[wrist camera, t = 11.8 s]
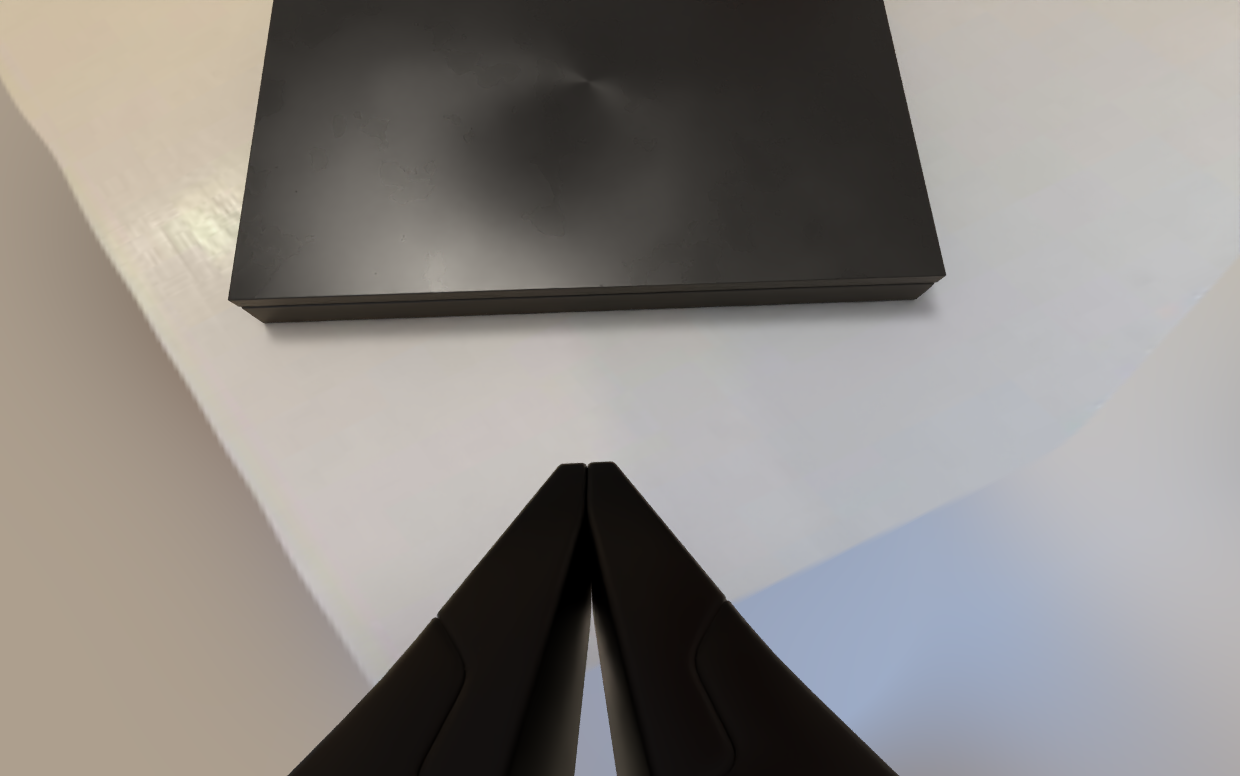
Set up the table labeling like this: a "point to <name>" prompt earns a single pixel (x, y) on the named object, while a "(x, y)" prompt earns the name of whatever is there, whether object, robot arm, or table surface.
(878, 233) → the laptop screen
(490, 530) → the table surface
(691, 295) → the laptop
